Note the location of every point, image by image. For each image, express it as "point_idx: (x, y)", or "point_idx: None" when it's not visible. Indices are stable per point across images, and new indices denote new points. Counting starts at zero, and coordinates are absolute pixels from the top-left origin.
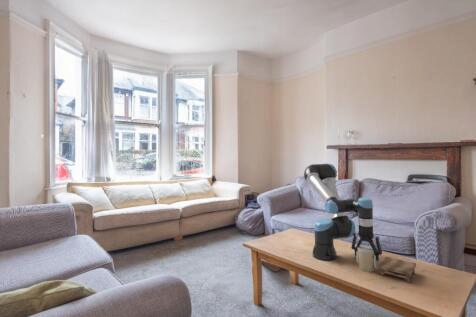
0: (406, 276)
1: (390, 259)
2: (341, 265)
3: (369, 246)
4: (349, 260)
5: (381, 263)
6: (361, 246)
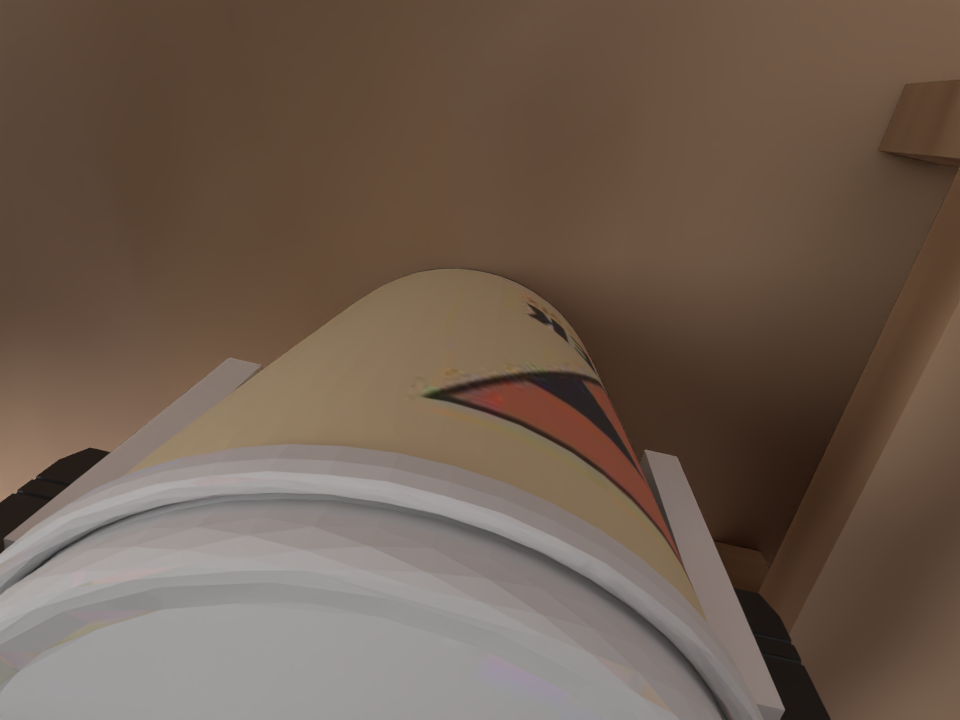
0: None
1: None
2: (7, 442)
3: (457, 618)
4: (25, 98)
5: (812, 650)
6: (8, 715)
